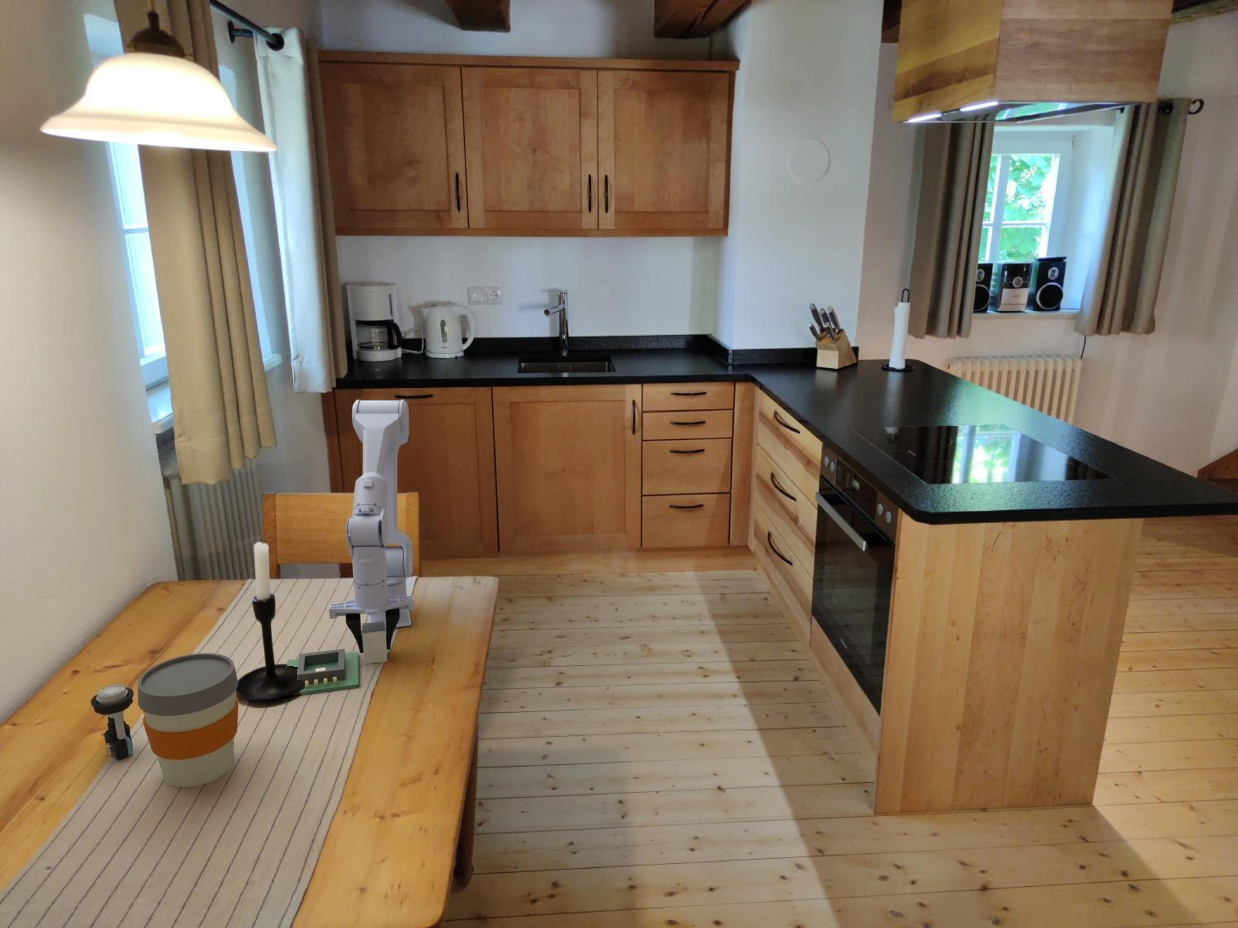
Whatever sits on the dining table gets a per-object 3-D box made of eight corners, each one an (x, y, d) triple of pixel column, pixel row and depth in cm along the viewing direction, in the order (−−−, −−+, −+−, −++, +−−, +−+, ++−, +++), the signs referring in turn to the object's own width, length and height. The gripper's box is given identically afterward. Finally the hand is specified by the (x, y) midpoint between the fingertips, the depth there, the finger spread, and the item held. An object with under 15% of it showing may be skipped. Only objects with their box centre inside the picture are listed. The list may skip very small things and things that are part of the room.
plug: (364, 653, 153) (361, 622, 152) (386, 651, 155) (384, 620, 153) (364, 665, 149) (362, 633, 148) (387, 662, 151) (385, 630, 149)
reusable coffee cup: (197, 804, 112) (184, 705, 108) (128, 782, 116) (113, 686, 113) (266, 753, 124) (256, 661, 120) (200, 735, 128) (188, 645, 124)
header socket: (288, 662, 150) (286, 648, 149) (358, 654, 153) (357, 640, 152) (283, 697, 139) (281, 681, 138) (358, 687, 142) (357, 672, 141)
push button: (91, 747, 124) (81, 687, 122) (130, 732, 128) (121, 674, 125) (107, 766, 120) (97, 704, 117) (147, 750, 124) (138, 690, 121)
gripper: (326, 592, 142) (332, 664, 146) (414, 583, 147) (417, 654, 150) (327, 576, 149) (333, 646, 152) (411, 568, 153) (414, 636, 157)
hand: (375, 648), depth 152 cm, fingers closed on plug, 4 cm apart
